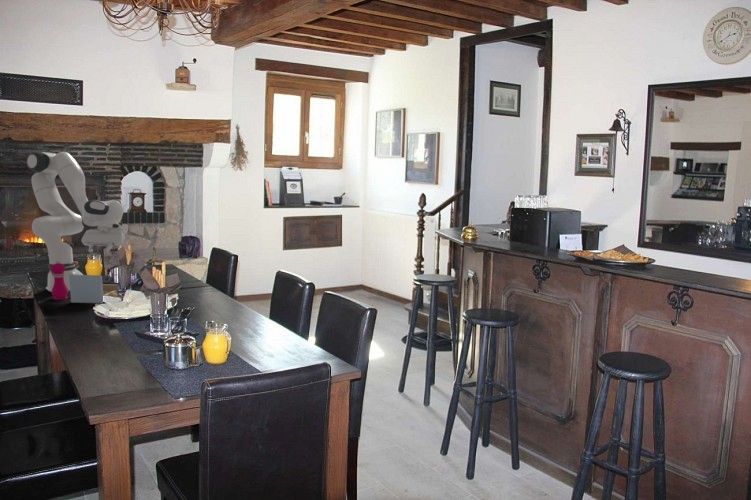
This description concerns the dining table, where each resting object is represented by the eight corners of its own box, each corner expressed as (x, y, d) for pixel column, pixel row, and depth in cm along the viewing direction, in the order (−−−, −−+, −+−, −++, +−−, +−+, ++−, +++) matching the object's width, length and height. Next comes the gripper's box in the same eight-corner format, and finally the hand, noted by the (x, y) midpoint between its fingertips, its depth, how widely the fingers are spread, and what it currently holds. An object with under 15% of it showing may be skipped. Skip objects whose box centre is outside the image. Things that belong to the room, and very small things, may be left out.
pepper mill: (72, 299, 319) (69, 259, 316) (63, 303, 312) (60, 261, 309) (57, 299, 320) (54, 258, 317) (49, 302, 313) (45, 261, 310)
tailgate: (72, 302, 309) (70, 274, 307) (104, 303, 307) (102, 275, 305) (70, 303, 308) (68, 275, 306) (102, 304, 306) (101, 275, 304)
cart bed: (88, 297, 323) (87, 283, 322) (118, 298, 322) (117, 284, 320) (73, 304, 309) (72, 290, 308) (104, 305, 308) (103, 290, 307)
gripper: (84, 224, 323) (74, 247, 315) (124, 225, 321) (115, 248, 313) (90, 232, 328) (80, 255, 320) (129, 233, 326) (120, 255, 318)
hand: (98, 251), depth 316 cm, fingers open, 7 cm apart
